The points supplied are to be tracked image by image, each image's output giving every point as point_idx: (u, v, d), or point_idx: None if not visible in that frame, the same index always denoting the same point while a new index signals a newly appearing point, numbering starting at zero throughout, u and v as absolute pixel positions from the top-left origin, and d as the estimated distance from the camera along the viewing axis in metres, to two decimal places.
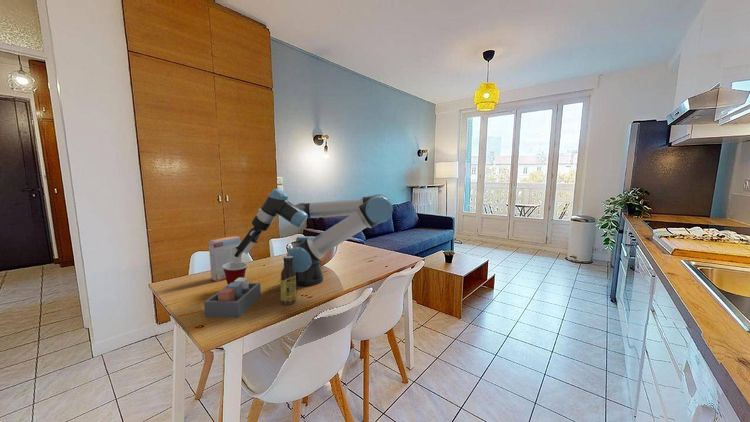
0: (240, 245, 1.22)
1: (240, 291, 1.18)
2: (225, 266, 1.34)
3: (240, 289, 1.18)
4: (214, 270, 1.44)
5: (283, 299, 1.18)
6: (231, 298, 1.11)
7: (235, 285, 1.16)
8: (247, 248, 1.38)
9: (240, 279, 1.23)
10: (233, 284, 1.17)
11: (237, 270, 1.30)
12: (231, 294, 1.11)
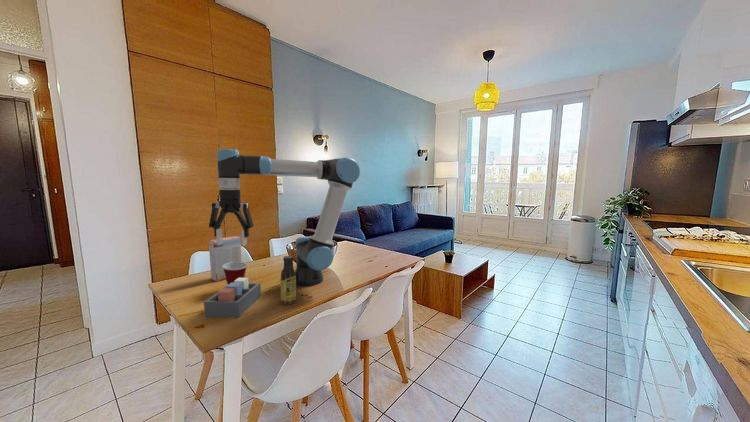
0: (250, 222, 1.13)
1: (240, 291, 1.18)
2: (225, 266, 1.34)
3: (240, 289, 1.18)
4: (214, 270, 1.44)
5: (283, 299, 1.18)
6: (231, 298, 1.11)
7: (235, 285, 1.16)
8: (220, 238, 1.15)
9: (240, 279, 1.23)
10: (233, 284, 1.17)
11: (237, 270, 1.30)
12: (231, 294, 1.11)
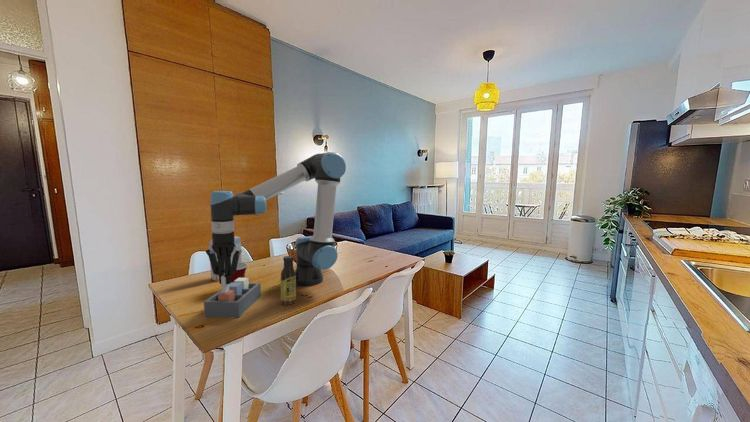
0: (234, 269, 1.09)
1: (240, 291, 1.18)
2: None
3: (240, 289, 1.18)
4: None
5: (283, 299, 1.18)
6: (231, 300, 1.11)
7: (235, 285, 1.16)
8: None
9: (240, 279, 1.23)
10: (233, 284, 1.17)
11: (237, 270, 1.30)
12: (231, 296, 1.11)
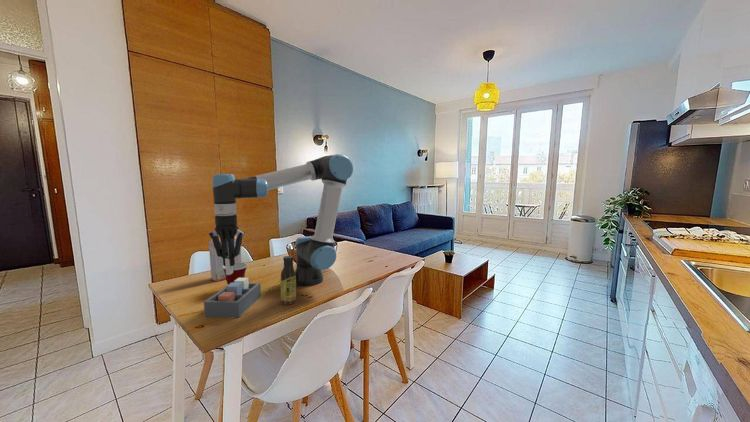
0: (237, 251, 1.11)
1: (240, 291, 1.18)
2: (225, 266, 1.34)
3: (240, 289, 1.18)
4: (214, 270, 1.44)
5: (283, 299, 1.18)
6: None
7: (235, 285, 1.16)
8: None
9: (240, 279, 1.23)
10: (233, 284, 1.17)
11: (237, 270, 1.30)
12: (231, 298, 1.11)
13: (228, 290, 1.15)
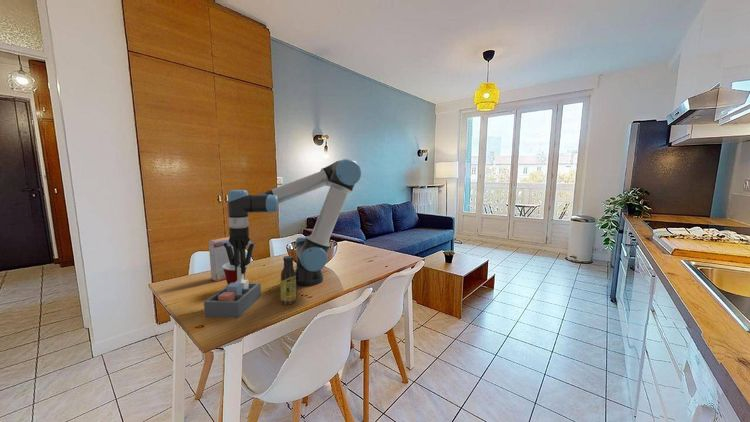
0: (248, 260, 1.21)
1: (240, 291, 1.18)
2: (225, 266, 1.34)
3: (240, 289, 1.18)
4: (214, 270, 1.44)
5: (283, 299, 1.18)
6: None
7: (235, 285, 1.16)
8: None
9: None
10: (233, 284, 1.17)
11: None
12: (231, 298, 1.11)
13: (228, 290, 1.15)
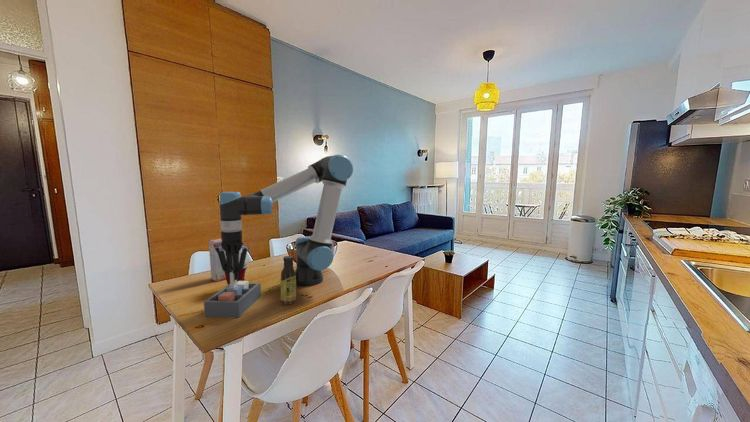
0: (242, 266, 1.15)
1: None
2: None
3: (240, 292, 1.18)
4: (214, 270, 1.44)
5: (283, 299, 1.18)
6: None
7: (235, 288, 1.16)
8: None
9: (240, 282, 1.23)
10: None
11: None
12: (231, 298, 1.11)
13: None
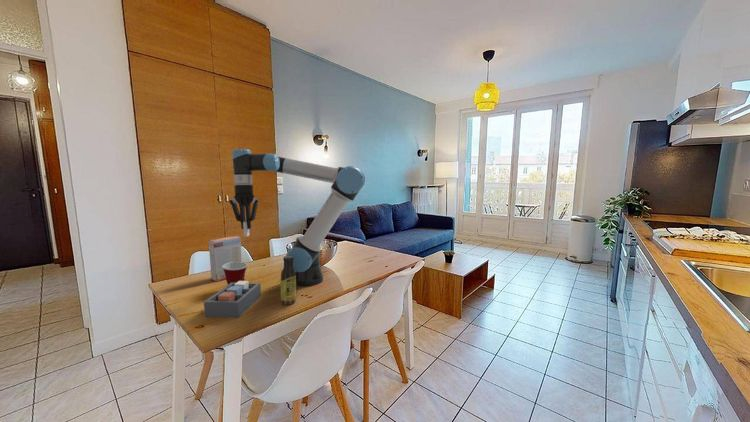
0: (254, 216, 1.30)
1: None
2: (225, 266, 1.34)
3: (240, 292, 1.18)
4: (214, 270, 1.44)
5: (283, 299, 1.18)
6: None
7: (235, 289, 1.16)
8: None
9: (240, 282, 1.23)
10: (233, 287, 1.17)
11: (237, 270, 1.30)
12: (231, 298, 1.11)
13: None
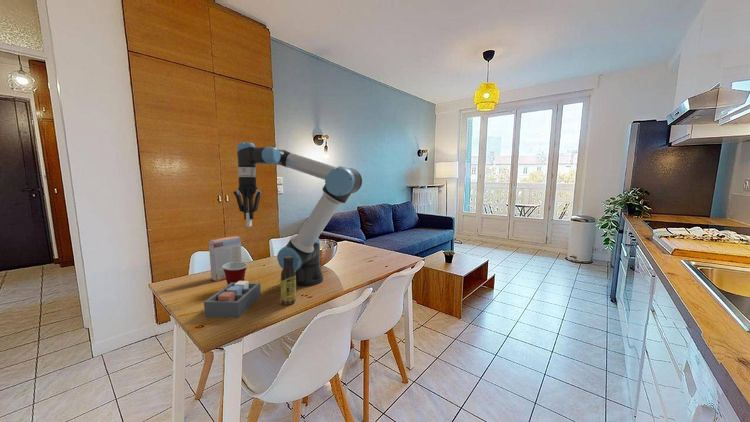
0: (256, 207, 1.35)
1: None
2: (225, 266, 1.34)
3: (240, 292, 1.18)
4: (214, 270, 1.44)
5: (283, 299, 1.18)
6: None
7: (235, 289, 1.16)
8: None
9: (240, 282, 1.23)
10: (233, 287, 1.17)
11: (237, 270, 1.30)
12: (231, 298, 1.11)
13: None
